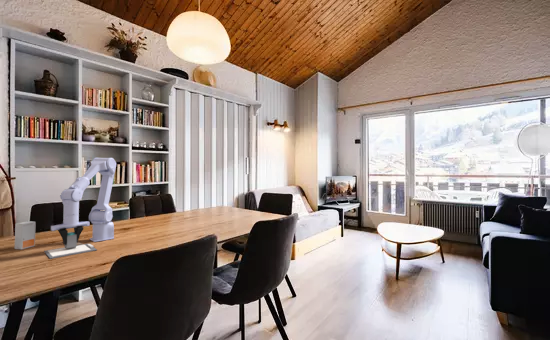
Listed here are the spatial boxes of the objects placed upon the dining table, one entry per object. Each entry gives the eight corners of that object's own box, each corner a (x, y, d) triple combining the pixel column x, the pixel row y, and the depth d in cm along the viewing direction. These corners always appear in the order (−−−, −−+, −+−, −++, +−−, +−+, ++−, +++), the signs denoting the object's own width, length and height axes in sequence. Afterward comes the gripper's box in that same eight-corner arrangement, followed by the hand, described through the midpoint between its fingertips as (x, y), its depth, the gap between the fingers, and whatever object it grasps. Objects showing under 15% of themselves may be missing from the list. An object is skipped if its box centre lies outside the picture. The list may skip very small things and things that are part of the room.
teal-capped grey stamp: (73, 246, 128) (73, 231, 128) (76, 247, 126) (76, 232, 126) (64, 247, 125) (64, 232, 125) (67, 249, 123) (67, 234, 123)
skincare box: (21, 249, 124) (21, 223, 124) (14, 249, 125) (14, 223, 125) (35, 246, 130) (36, 221, 130) (28, 245, 131) (29, 220, 131)
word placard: (80, 242, 137) (80, 242, 137) (82, 244, 134) (82, 243, 134) (65, 245, 132) (65, 244, 132) (67, 246, 130) (67, 246, 130)
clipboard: (88, 244, 135) (88, 242, 135) (96, 250, 125) (96, 248, 125) (44, 251, 122) (44, 249, 122) (50, 259, 113) (50, 256, 113)
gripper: (85, 211, 134) (85, 238, 134) (48, 215, 122) (48, 245, 122) (91, 213, 129) (91, 241, 130) (53, 217, 118) (53, 248, 118)
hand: (70, 243), depth 125 cm, fingers closed on teal-capped grey stamp, 4 cm apart
